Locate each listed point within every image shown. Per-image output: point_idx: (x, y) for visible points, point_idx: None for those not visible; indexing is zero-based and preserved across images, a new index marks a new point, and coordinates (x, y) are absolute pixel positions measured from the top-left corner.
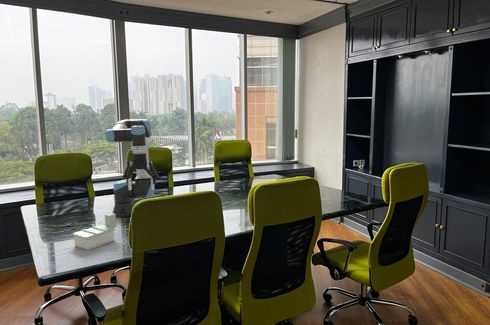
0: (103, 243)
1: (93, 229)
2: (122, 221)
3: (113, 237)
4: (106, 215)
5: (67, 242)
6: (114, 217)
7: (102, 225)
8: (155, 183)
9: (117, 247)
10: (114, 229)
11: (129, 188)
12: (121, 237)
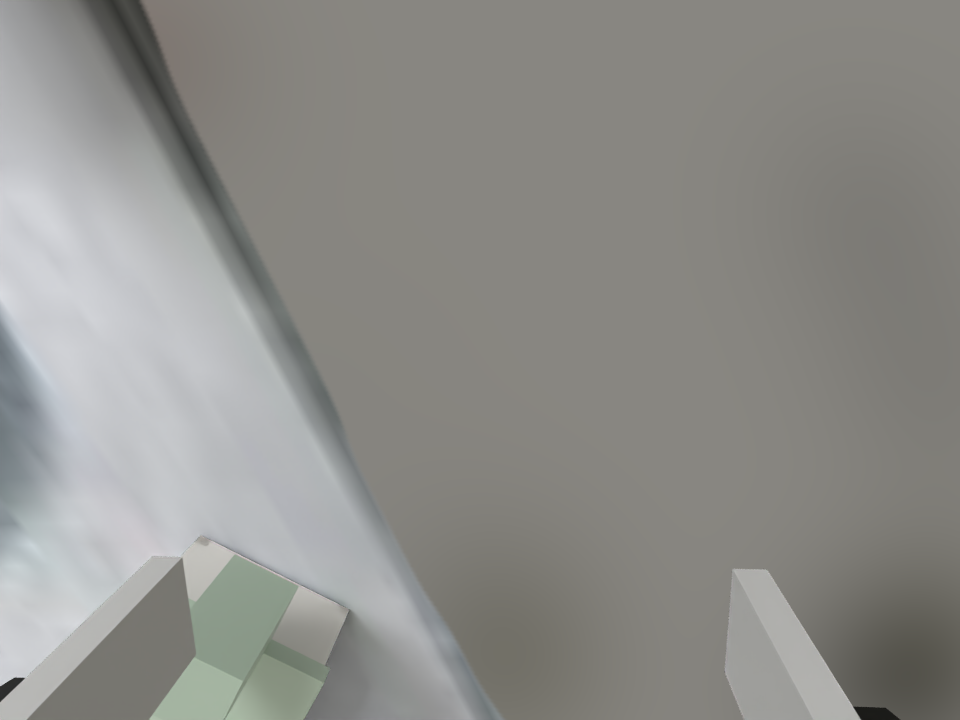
0: None
1: (152, 715)
2: (120, 45)
3: (338, 633)
4: (166, 717)
5: (5, 628)
6: (252, 667)
7: None
8: (891, 715)
9: (435, 715)
10: (327, 674)
11: (169, 681)
12: (363, 522)
